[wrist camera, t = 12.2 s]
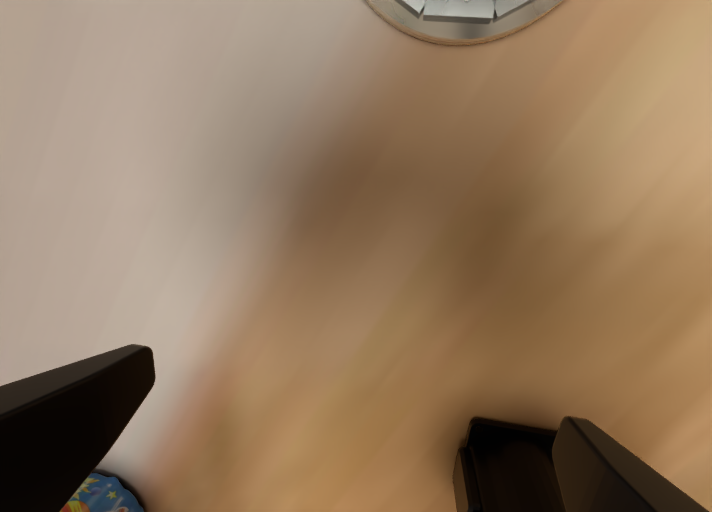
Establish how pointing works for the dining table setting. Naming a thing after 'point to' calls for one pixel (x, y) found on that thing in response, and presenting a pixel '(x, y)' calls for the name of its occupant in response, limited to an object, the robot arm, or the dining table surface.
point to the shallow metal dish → (461, 18)
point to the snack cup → (102, 496)
